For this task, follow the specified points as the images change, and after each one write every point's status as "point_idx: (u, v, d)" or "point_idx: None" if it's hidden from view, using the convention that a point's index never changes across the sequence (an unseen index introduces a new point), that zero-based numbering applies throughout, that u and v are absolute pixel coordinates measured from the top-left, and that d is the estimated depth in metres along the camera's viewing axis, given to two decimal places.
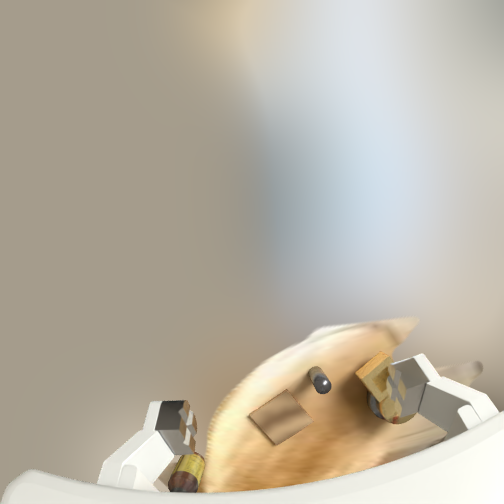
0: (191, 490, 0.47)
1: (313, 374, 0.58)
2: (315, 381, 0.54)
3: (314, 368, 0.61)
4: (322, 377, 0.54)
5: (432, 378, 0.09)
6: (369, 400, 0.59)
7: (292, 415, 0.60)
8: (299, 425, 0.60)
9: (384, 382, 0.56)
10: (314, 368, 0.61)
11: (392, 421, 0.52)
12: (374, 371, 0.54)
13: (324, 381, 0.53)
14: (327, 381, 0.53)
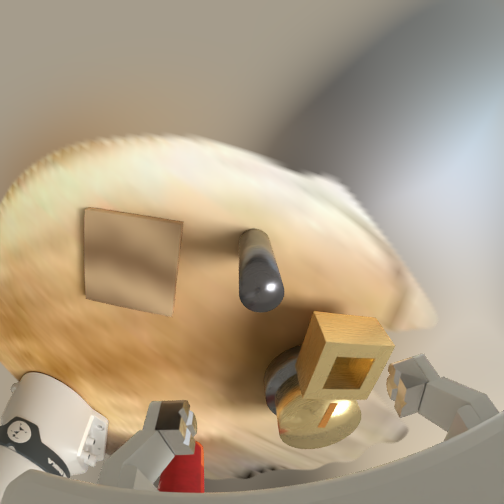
0: None
1: (256, 243, 0.26)
2: (255, 264, 0.22)
3: (263, 235, 0.28)
4: (276, 271, 0.22)
5: (432, 378, 0.09)
6: (280, 367, 0.33)
7: (150, 275, 0.30)
8: (145, 301, 0.31)
9: (334, 370, 0.29)
10: (262, 235, 0.28)
11: (283, 435, 0.29)
12: (354, 348, 0.25)
13: (274, 284, 0.21)
14: (279, 290, 0.21)
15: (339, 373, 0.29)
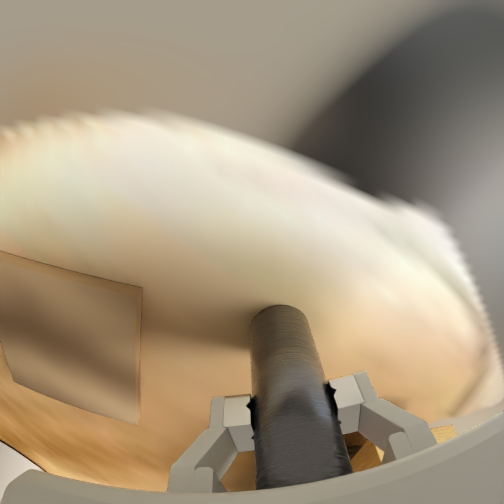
0: None
1: (292, 362, 0.11)
2: (299, 462, 0.07)
3: (300, 324, 0.14)
4: (348, 468, 0.07)
5: (368, 399, 0.09)
6: None
7: (93, 370, 0.15)
8: (94, 402, 0.16)
9: None
10: (299, 325, 0.14)
11: None
12: None
13: None
14: None
15: None
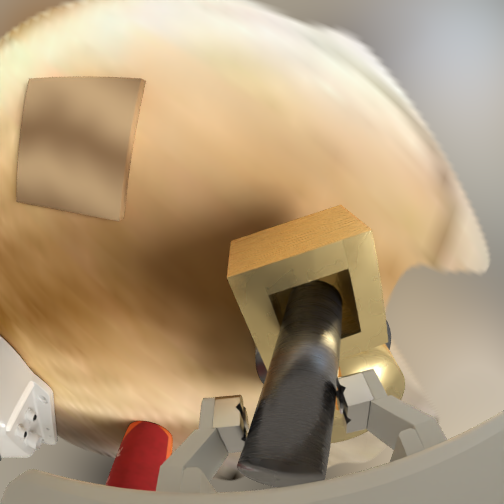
0: None
1: (298, 335, 0.13)
2: (269, 422, 0.09)
3: (323, 297, 0.15)
4: (313, 434, 0.09)
5: (378, 396, 0.09)
6: None
7: (93, 155, 0.19)
8: (85, 198, 0.20)
9: None
10: (320, 299, 0.15)
11: None
12: (290, 267, 0.14)
13: (302, 471, 0.08)
14: (315, 475, 0.08)
15: None
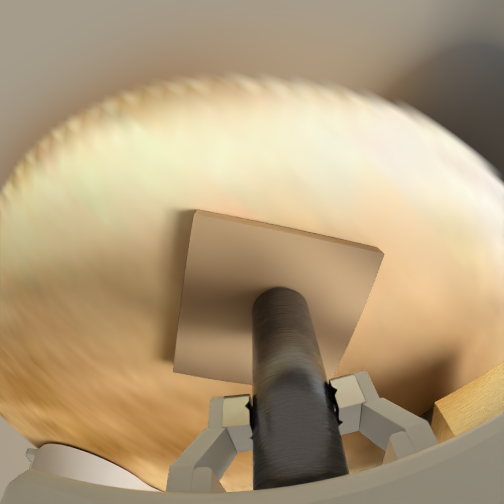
0: None
1: (278, 343, 0.12)
2: (278, 437, 0.08)
3: (291, 303, 0.15)
4: (328, 439, 0.08)
5: (370, 398, 0.09)
6: None
7: None
8: None
9: None
10: (289, 305, 0.14)
11: None
12: None
13: None
14: None
15: None
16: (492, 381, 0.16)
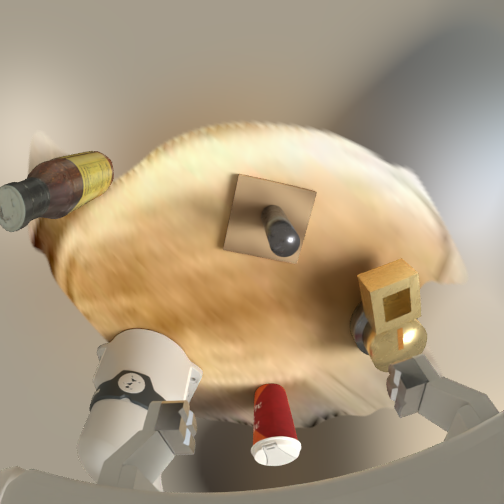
0: (57, 207, 0.25)
1: (273, 213, 0.35)
2: (275, 226, 0.31)
3: (277, 207, 0.38)
4: (290, 226, 0.31)
5: (432, 378, 0.09)
6: None
7: None
8: None
9: (390, 306, 0.40)
10: (276, 207, 0.38)
11: (378, 365, 0.40)
12: (391, 287, 0.36)
13: (291, 234, 0.30)
14: (296, 237, 0.30)
15: (394, 307, 0.40)
16: (391, 266, 0.39)
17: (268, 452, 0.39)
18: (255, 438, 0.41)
